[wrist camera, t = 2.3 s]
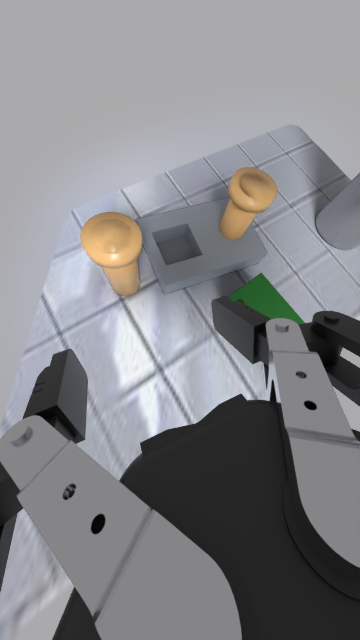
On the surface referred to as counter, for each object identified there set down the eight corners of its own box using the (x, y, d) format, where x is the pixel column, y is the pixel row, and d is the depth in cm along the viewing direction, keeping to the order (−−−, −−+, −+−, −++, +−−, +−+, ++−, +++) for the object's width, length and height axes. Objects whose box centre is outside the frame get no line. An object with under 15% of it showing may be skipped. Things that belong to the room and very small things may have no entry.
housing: (228, 211, 34) (257, 147, 25) (257, 263, 32) (302, 216, 22) (138, 233, 30) (131, 169, 21) (164, 294, 28) (169, 253, 19)
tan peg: (138, 261, 29) (130, 206, 20) (151, 294, 28) (150, 252, 19) (100, 272, 28) (73, 219, 18) (112, 306, 27) (90, 269, 17)
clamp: (222, 321, 33) (215, 292, 25) (250, 300, 33) (251, 265, 26) (277, 380, 27) (290, 365, 19) (311, 354, 27) (337, 329, 19)
